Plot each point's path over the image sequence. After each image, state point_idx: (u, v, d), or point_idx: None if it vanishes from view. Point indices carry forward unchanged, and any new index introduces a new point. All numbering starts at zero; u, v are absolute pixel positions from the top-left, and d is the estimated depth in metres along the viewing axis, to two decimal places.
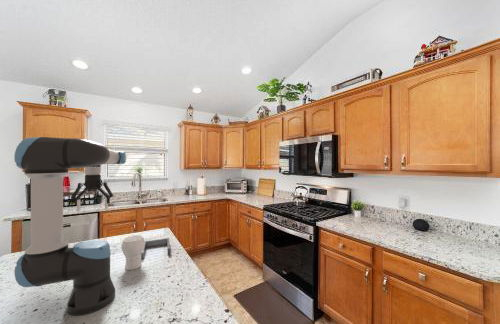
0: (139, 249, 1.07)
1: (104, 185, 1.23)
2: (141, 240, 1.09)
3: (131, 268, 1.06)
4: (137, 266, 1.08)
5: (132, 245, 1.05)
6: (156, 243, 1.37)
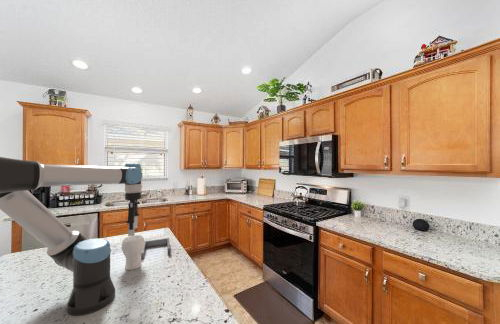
0: (139, 249, 1.07)
1: None
2: (141, 240, 1.09)
3: (131, 268, 1.06)
4: (137, 266, 1.08)
5: (132, 245, 1.05)
6: (156, 243, 1.37)
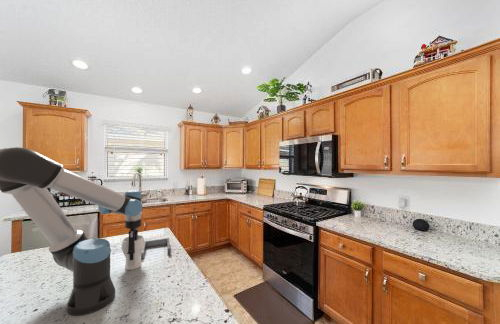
0: (139, 249, 1.07)
1: (129, 237, 1.04)
2: (141, 240, 1.09)
3: (131, 268, 1.06)
4: (137, 266, 1.08)
5: None
6: (156, 243, 1.37)
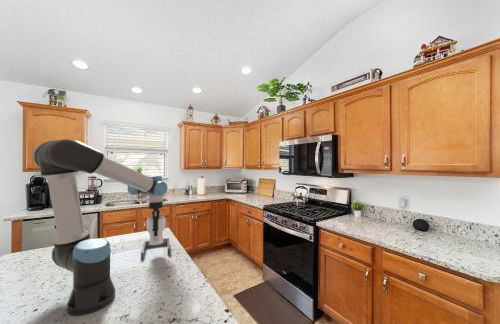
0: (162, 227, 1.21)
1: (153, 215, 1.17)
2: (163, 219, 1.22)
3: (155, 244, 1.20)
4: (160, 242, 1.21)
5: None
6: None
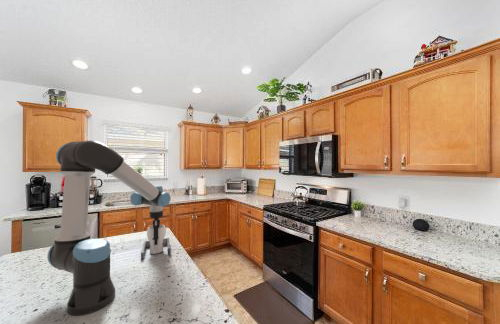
0: (162, 236, 1.25)
1: (153, 225, 1.22)
2: (163, 228, 1.26)
3: (155, 252, 1.24)
4: (160, 250, 1.25)
5: None
6: None
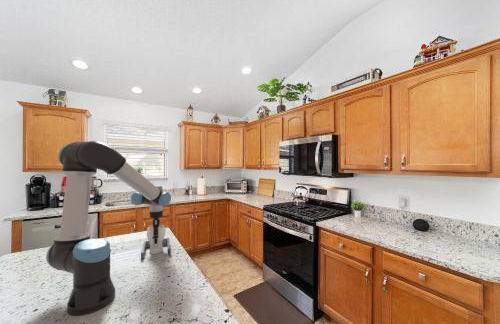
0: (161, 236, 1.26)
1: (153, 224, 1.23)
2: (163, 229, 1.28)
3: (155, 252, 1.25)
4: (160, 251, 1.26)
5: None
6: None
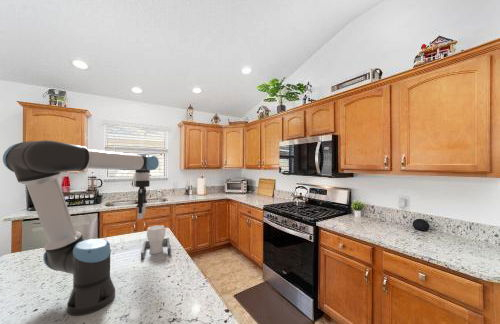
0: (161, 236, 1.26)
1: (138, 192, 1.15)
2: (163, 229, 1.28)
3: (155, 252, 1.25)
4: (160, 251, 1.26)
5: (156, 233, 1.24)
6: None
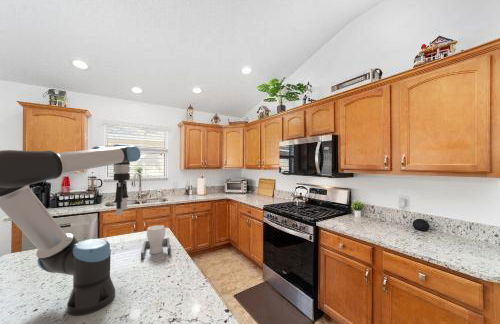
0: (161, 236, 1.26)
1: None
2: (163, 229, 1.28)
3: (155, 252, 1.25)
4: (160, 251, 1.26)
5: (156, 233, 1.24)
6: None
